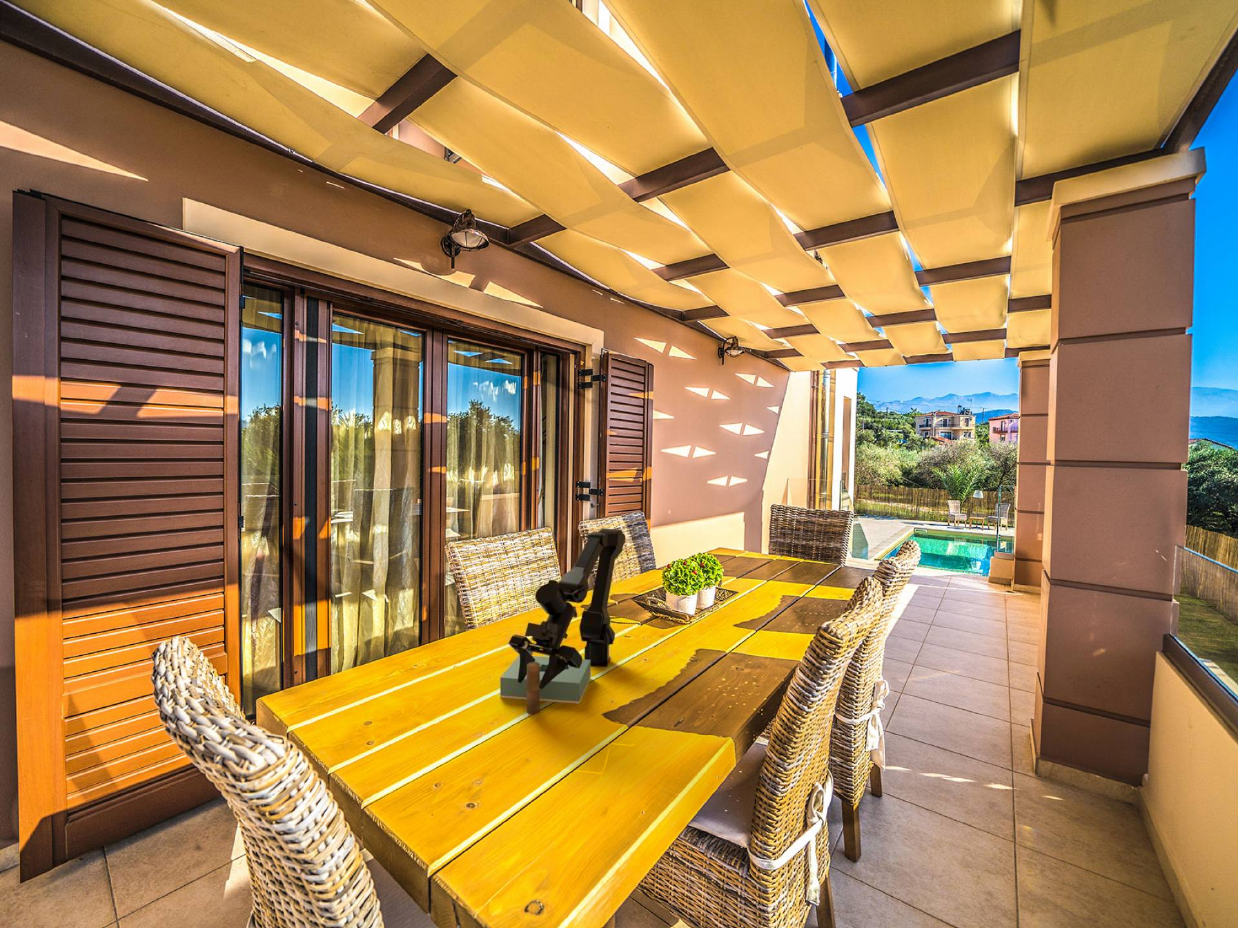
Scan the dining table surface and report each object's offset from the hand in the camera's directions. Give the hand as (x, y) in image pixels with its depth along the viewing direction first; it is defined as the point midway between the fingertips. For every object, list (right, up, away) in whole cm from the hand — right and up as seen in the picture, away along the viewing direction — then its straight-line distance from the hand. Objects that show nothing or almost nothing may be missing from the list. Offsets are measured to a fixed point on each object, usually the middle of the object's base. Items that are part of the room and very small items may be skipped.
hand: (529, 685), depth 118 cm
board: (+2, -6, +13) cm, 15 cm away
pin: (+1, -7, +1) cm, 7 cm away
